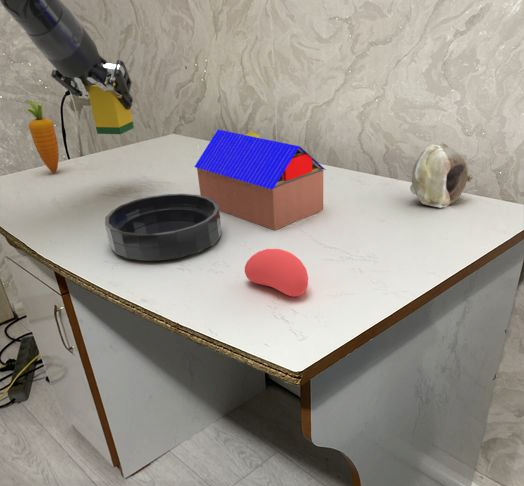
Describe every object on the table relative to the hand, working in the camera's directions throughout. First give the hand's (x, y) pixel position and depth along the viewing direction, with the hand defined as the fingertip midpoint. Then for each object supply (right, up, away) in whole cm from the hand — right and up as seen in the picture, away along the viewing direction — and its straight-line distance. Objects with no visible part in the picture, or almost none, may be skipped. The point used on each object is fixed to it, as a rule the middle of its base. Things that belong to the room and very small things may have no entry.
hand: (116, 105), depth 99 cm
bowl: (+12, -28, -15) cm, 34 cm away
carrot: (-19, -6, +21) cm, 29 cm away
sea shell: (+57, -21, -9) cm, 61 cm away
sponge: (0, -4, +1) cm, 5 cm away
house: (+27, -21, -5) cm, 34 cm away
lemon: (+25, -9, +12) cm, 29 cm away
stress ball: (+29, -38, -30) cm, 57 cm away
